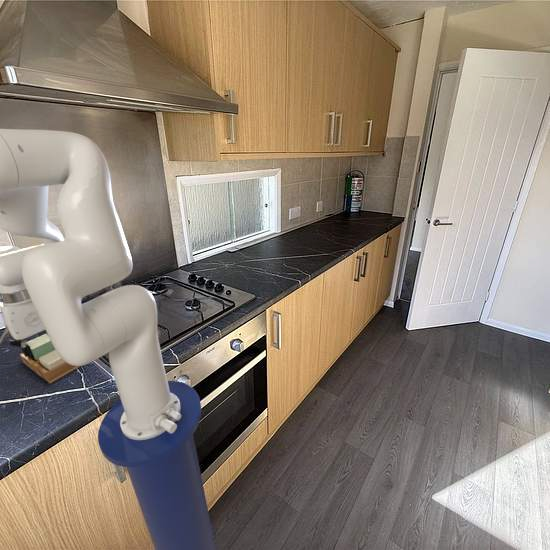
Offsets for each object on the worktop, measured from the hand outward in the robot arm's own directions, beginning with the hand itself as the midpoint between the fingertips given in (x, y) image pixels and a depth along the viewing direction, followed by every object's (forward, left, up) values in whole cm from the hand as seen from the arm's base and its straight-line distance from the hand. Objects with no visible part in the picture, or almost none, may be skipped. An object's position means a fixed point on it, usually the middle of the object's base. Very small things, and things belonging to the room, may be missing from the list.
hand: (43, 350), depth 83 cm
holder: (-4, 0, -3) cm, 5 cm away
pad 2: (-7, 0, -3) cm, 8 cm away
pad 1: (0, 0, 0) cm, 0 cm away
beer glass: (+11, -29, -4) cm, 31 cm away
